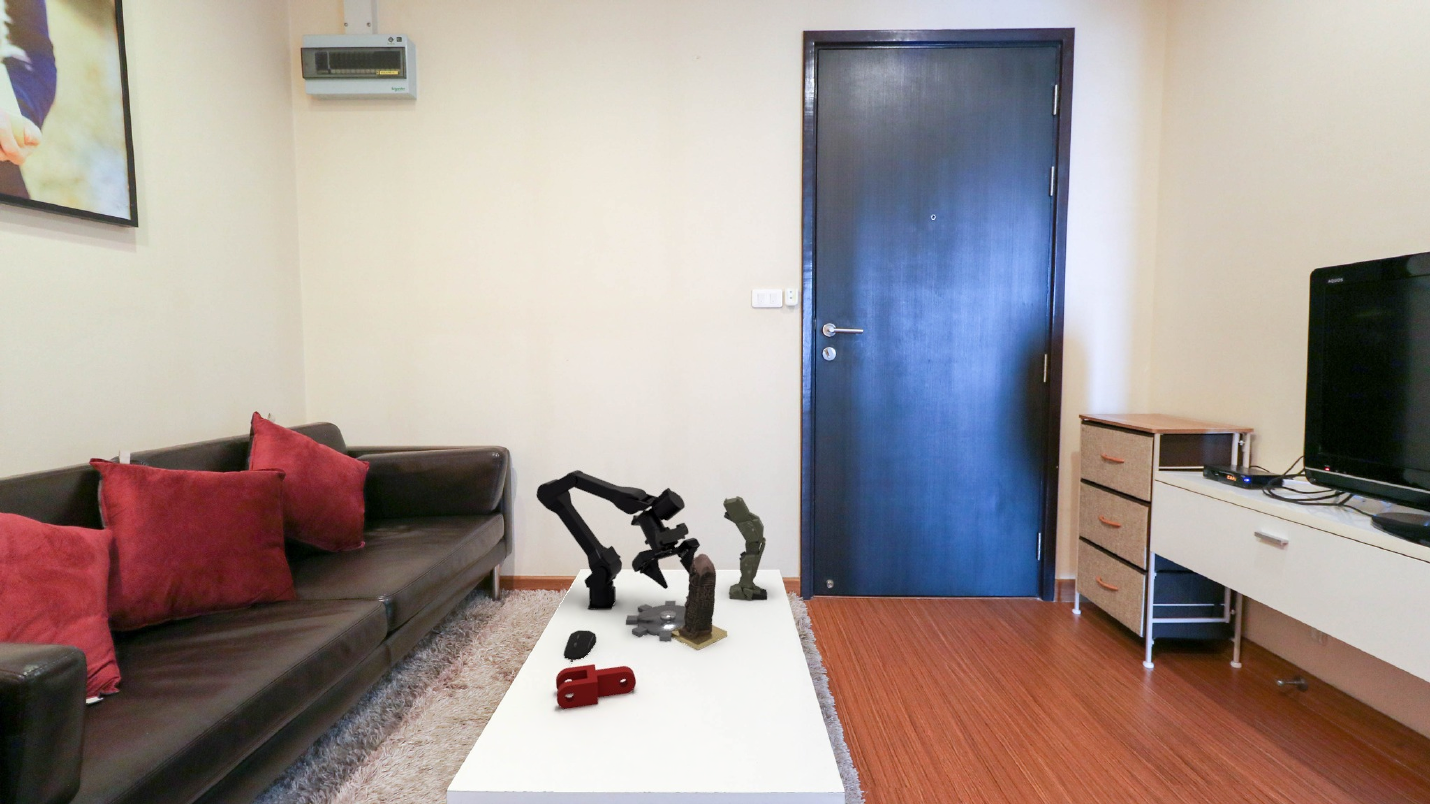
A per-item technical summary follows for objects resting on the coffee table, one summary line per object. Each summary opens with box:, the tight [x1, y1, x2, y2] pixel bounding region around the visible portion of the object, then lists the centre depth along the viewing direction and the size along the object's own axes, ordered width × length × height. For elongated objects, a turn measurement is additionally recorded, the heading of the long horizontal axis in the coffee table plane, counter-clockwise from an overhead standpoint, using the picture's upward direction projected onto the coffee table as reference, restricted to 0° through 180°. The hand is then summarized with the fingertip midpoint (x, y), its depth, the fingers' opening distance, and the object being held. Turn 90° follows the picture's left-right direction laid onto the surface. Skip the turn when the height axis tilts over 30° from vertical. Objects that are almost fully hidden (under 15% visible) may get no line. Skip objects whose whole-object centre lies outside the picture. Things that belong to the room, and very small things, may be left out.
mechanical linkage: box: [555, 664, 637, 710], centre depth 130 cm, size 16×7×5 cm, turn 105°
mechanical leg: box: [723, 496, 768, 601], centre depth 180 cm, size 14×7×30 cm, turn 84°
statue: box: [678, 553, 717, 639], centre depth 154 cm, size 7×7×20 cm
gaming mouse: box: [563, 629, 597, 663], centre depth 149 cm, size 6×15×4 cm, turn 176°
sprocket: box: [625, 600, 728, 650], centre depth 162 cm, size 27×21×2 cm
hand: (681, 583), depth 160 cm, fingers open, 9 cm apart
